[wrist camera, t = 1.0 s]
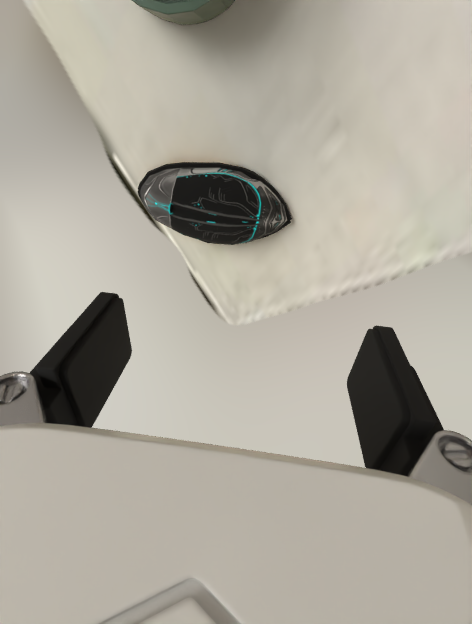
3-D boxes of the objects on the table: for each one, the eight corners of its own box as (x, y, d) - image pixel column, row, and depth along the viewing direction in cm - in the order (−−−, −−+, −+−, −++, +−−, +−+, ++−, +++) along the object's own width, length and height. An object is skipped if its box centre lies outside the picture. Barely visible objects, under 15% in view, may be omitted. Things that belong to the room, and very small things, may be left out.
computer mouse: (280, 252, 38) (280, 275, 33) (144, 221, 37) (125, 240, 33) (303, 179, 33) (307, 194, 28) (146, 141, 32) (124, 150, 28)
